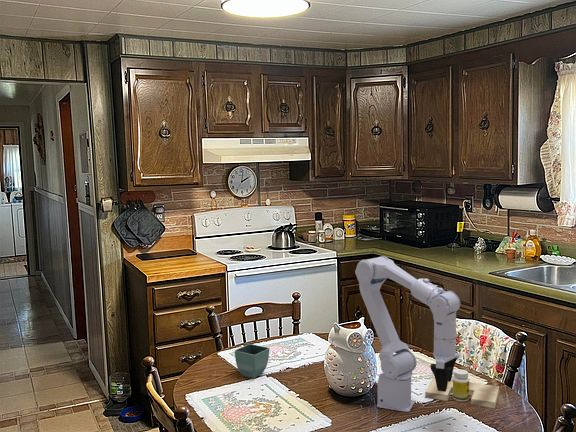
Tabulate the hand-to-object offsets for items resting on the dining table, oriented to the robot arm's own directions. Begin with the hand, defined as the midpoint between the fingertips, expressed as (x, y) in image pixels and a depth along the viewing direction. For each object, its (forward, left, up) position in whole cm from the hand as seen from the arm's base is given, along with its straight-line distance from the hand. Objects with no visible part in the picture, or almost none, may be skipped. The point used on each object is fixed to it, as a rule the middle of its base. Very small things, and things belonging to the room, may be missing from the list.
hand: (444, 385), depth 161 cm
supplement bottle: (+2, +18, -11) cm, 21 cm away
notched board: (+2, +21, -10) cm, 24 cm away
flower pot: (-65, +11, -11) cm, 67 cm away
